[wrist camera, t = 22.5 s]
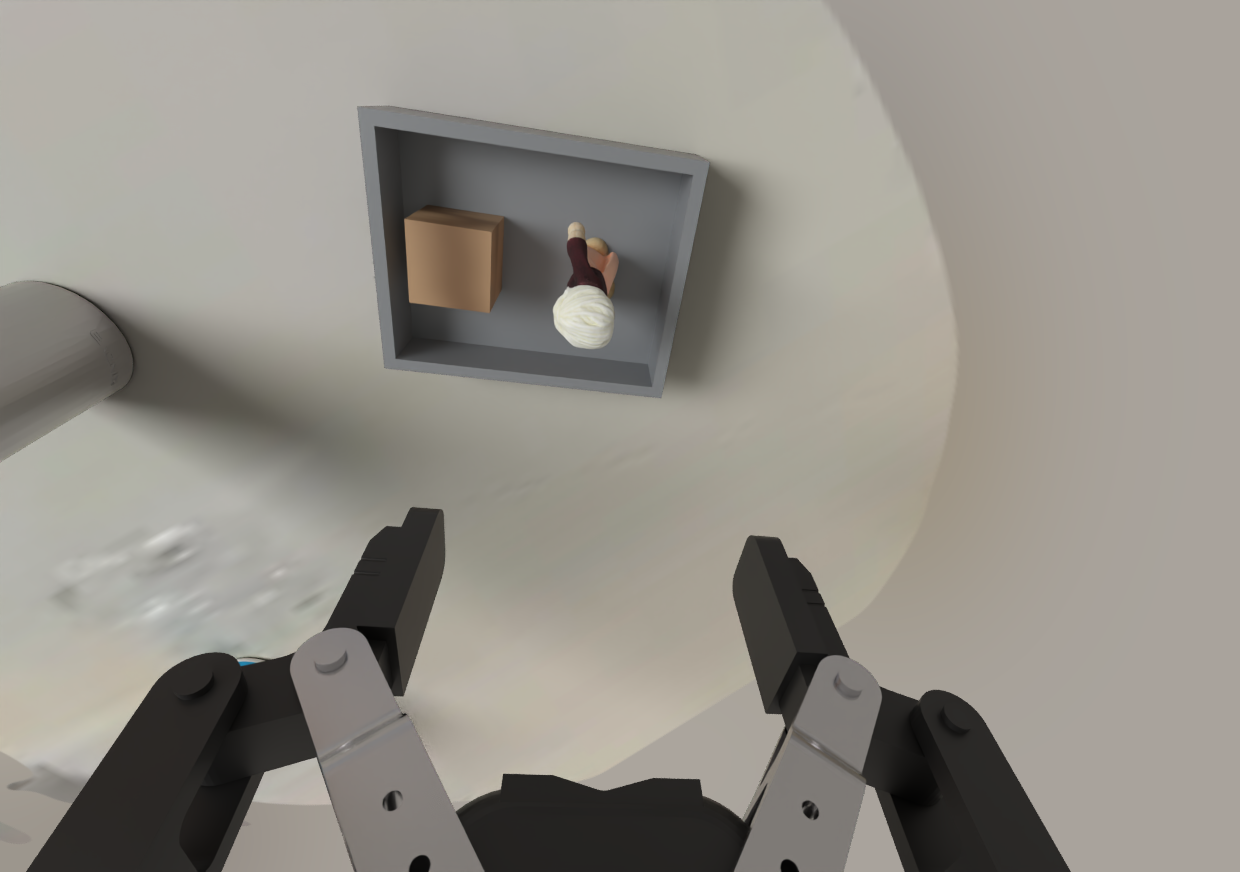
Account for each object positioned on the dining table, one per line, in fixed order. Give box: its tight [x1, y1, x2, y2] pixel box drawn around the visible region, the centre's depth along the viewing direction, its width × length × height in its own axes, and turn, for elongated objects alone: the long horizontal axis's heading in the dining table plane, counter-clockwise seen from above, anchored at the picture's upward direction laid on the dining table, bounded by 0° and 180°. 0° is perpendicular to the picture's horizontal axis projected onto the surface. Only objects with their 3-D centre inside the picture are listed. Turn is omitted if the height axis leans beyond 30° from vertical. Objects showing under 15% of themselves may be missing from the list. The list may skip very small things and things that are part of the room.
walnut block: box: [404, 205, 504, 313], centre depth 34 cm, size 5×5×5 cm
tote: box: [357, 106, 710, 398], centre depth 36 cm, size 20×16×5 cm
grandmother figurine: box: [553, 222, 619, 349], centre depth 32 cm, size 8×4×13 cm, turn 19°
